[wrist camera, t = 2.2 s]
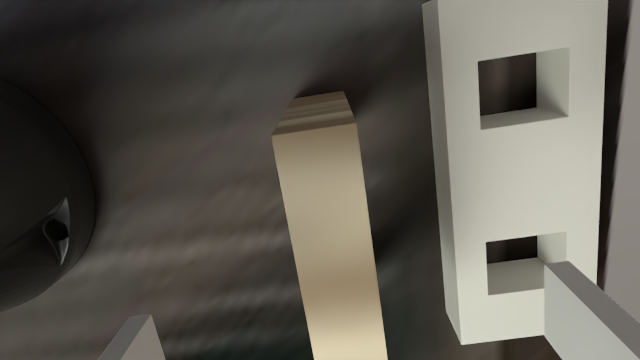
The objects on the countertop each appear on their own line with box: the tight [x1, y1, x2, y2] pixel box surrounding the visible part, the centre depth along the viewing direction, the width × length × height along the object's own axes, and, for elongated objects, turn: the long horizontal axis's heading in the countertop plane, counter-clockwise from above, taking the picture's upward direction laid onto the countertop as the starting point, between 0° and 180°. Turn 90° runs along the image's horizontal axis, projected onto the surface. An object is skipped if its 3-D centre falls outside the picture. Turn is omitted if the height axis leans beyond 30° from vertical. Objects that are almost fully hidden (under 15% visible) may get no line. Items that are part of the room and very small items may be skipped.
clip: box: [271, 91, 388, 360], centre depth 22 cm, size 12×3×11 cm, turn 9°
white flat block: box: [422, 0, 608, 345], centre depth 25 cm, size 20×8×4 cm, turn 9°
